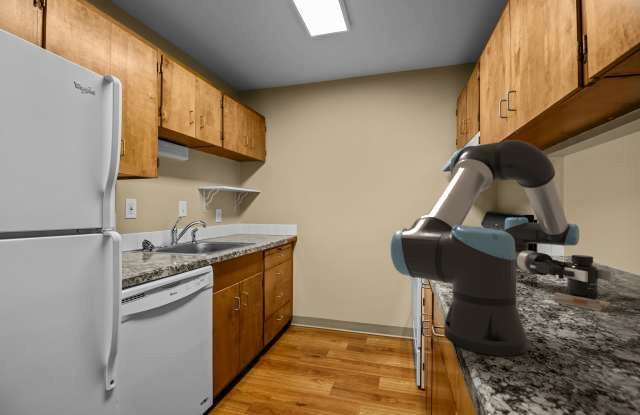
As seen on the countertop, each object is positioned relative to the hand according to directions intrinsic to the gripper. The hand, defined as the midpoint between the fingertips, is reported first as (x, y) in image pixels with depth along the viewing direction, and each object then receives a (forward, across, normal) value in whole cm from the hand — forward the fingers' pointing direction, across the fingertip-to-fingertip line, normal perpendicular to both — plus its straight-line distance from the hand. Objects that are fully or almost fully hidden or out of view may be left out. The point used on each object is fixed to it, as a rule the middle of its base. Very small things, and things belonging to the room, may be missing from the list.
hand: (599, 276), depth 84 cm
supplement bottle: (-5, 0, -7) cm, 9 cm away
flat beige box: (-5, 0, -9) cm, 10 cm away
